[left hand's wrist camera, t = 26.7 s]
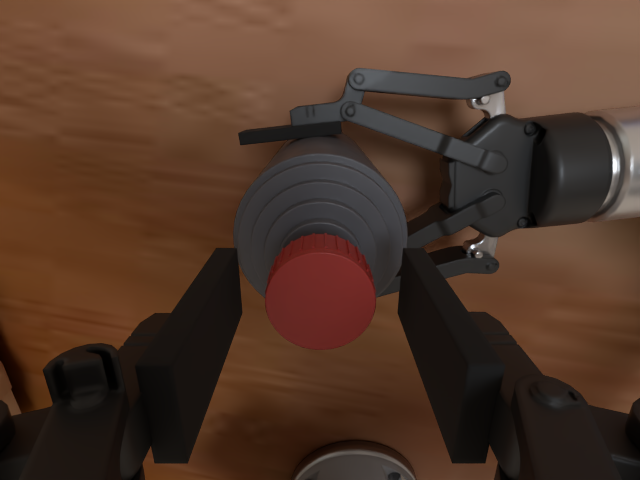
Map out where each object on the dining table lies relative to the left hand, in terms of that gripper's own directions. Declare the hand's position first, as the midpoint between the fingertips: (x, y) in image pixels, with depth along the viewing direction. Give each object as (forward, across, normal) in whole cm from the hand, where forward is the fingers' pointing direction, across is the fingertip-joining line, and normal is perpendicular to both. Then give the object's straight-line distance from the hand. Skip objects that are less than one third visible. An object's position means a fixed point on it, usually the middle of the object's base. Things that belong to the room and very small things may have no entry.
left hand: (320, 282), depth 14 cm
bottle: (+20, 0, 0) cm, 20 cm away
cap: (-1, 0, 0) cm, 1 cm away
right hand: (+14, -5, 0) cm, 14 cm away
